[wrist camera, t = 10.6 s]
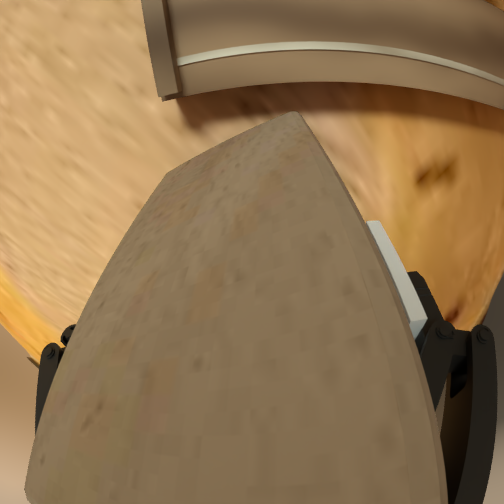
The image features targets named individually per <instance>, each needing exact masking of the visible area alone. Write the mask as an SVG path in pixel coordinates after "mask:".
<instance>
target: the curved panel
mask: <svg viewBox="0 0 504 504" xmlns="http://www.w3.org/2000/svg"><path fill="white" fill-rule="evenodd" d="M141 3H142V10H143V16H144V23H145V29H146V35H147V41H148V46H149V52H150V57H151V63H152V68H153V73H154V78H155V83H156V88H157V92H158V97H162V102H163V101H167V100H171V99H176V98H180V97H184V96H189V95H194V94H199V93H204V92H210V91H216V90H222V89H229V88H236V87H244V86H252V85H262V84H273V83H288V82H322V81H326V82H360V83H374V84H385V85H395V86H403V87H410V88H417V89H423V90H429V91H434V92H439V93H444V94H449V95H453V96H458V97H462V98H466V99H470V100H473V101H477V102H481V103H484V104H487V105H491V106H494V107H497V108H500V109H503V110H504V11H502V10H500V9H499V8H497V7H495V6H494V5H492V4H490V3H488V2H486V1H484V0H141Z"/></svg>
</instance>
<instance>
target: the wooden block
mask: <svg viewBox="0 0 504 504" xmlns="http://www.w3.org/2000/svg"><path fill="white" fill-rule="evenodd" d="M24 490H25V493H26V496H27V500H28V501H29V502H30V503H31V504H448V495H447V483H446V474H445V466H444V459H443V452H442V446H441V440H440V435H439V430H438V425H437V420H436V415H435V411H434V406H433V402H432V398H431V394H430V390H429V387H428V383H427V379H426V376H425V372H424V369H423V365H422V362H421V359H420V356H419V352H418V349H417V346H416V343H415V340H414V337H413V334H412V332H411V329H410V326H409V323H408V320H407V318H406V315H405V312H404V310H403V307H402V304H401V302H400V299H399V297H398V294H397V292H396V289H395V287H394V285H393V282H392V280H391V277H390V275H389V273H388V271H387V268H386V266H385V264H384V262H383V259H382V257H381V255H380V253H379V251H378V248H377V246H376V244H375V242H374V240H373V238H372V236H371V234H370V232H369V230H368V228H367V226H366V224H365V222H364V220H363V218H362V216H361V214H360V212H359V210H358V208H357V206H356V205H355V203H354V201H353V199H352V197H351V195H350V194H349V192H348V190H347V188H346V186H345V185H344V183H343V181H342V179H341V178H340V176H339V174H338V172H337V171H336V169H335V167H334V166H333V164H332V162H331V161H330V159H329V157H328V156H327V154H326V153H325V151H324V149H323V148H322V146H321V145H320V143H319V141H318V140H317V138H316V137H315V135H314V134H313V132H312V131H311V129H310V128H309V126H308V125H307V123H306V122H305V120H304V119H303V117H302V116H301V115H300V114H299V113H298V112H288V113H286V114H283V115H281V116H279V117H276V118H274V119H272V120H269V121H267V122H265V123H263V124H260V125H258V126H256V127H254V128H252V129H249V130H247V131H245V132H243V133H241V134H239V135H237V136H235V137H233V138H231V139H229V140H227V141H225V142H223V143H221V144H219V145H217V146H215V147H213V148H211V149H209V150H207V151H205V152H203V153H202V154H200V155H198V156H196V157H194V158H192V159H191V160H189V161H187V162H185V163H183V164H182V165H180V166H178V167H176V168H175V169H173V170H171V171H170V172H168V173H167V174H166V175H165V177H164V178H163V179H162V181H161V182H160V184H159V185H158V186H157V188H156V189H155V191H154V192H153V193H152V195H151V196H150V198H149V199H148V201H147V202H146V204H145V205H144V206H143V208H142V209H141V211H140V212H139V214H138V215H137V217H136V219H135V220H134V222H133V223H132V225H131V226H130V228H129V229H128V231H127V233H126V234H125V236H124V237H123V239H122V241H121V242H120V244H119V246H118V247H117V249H116V251H115V252H114V254H113V256H112V257H111V259H110V261H109V263H108V264H107V266H106V268H105V270H104V271H103V273H102V275H101V277H100V279H99V281H98V282H97V284H96V286H95V288H94V290H93V292H92V294H91V296H90V298H89V300H88V302H87V304H86V306H85V308H84V310H83V312H82V314H81V316H80V318H79V320H78V322H77V324H76V326H75V328H74V331H73V333H72V335H71V337H70V340H69V342H68V344H67V346H66V349H65V351H64V354H63V356H62V358H61V361H60V363H59V366H58V368H57V371H56V374H55V376H54V379H53V382H52V384H51V387H50V390H49V393H48V396H47V399H46V402H45V405H44V408H43V411H42V414H41V418H40V421H39V424H38V428H37V432H36V435H35V440H34V443H33V447H32V452H31V456H30V461H29V466H28V471H27V476H26V482H25V489H24Z"/></svg>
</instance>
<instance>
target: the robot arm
mask: <svg viewBox="0 0 504 504" xmlns="http://www.w3.org/2000/svg"><path fill="white" fill-rule="evenodd" d="M366 226H367V228H368V230H369V232H370V234H371V236H372V238H373V240H374V242H375V244H376V246H377V248H378V251H379V253H380V255H381V257H382V259H383V262H384V264H385V266H386V268H387V271H388V273H389V275H390V277H391V280H392V282H393V285H394V287H395V289H396V292H397V294H398V297H399V299H400V302H401V304H402V307H403V310H404V312H405V315H406V318H407V320H408V323H409V326H410V329H411V332H412V334H413V337H414V340H415V343H416V346H417V349H418V352H419V356H420V359H421V362H422V365H423V369H424V372H425V376H426V379H427V383H428V387H429V390H430V394H431V398H432V402H433V406H434V411H436V408H437V405H438V403H439V400H440V397H441V394H442V391H443V388H444V384H445V381H446V378H447V381H446V382H447V383H446V394H445V404H444V413H443V421H442V427H441V433H440V440H441V446H442V452H443V459H444V466H445V474H446V483H447V495H448V504H483V500H484V497H485V492H486V488H487V484H488V480H489V475H490V470H491V464H492V458H493V450H494V443H495V434H496V421H497V366H496V354H495V343H494V337H493V333H492V332H491V330H490V329H489V328H488V327H486V326H484V325H476V326H475V327H474V328H473V329H472V331H462V330H456V329H455V328H454V326H453V325H452V324H451V323H449V322H448V321H445V320H444V319H443V317H442V315H441V313H440V311H439V309H438V306H437V304H436V302H435V300H434V298H433V296H432V295H431V292H430V290H429V288H428V286H427V284H426V282H425V280H424V278H423V277H422V276H421V275H420V274H419V273H418V272H417V271H414V272H406V270H405V268H404V266H403V264H402V262H401V260H400V258H399V256H398V254H397V252H396V250H395V248H394V246H393V245H392V243H391V241H390V239H389V237H388V235H387V234H386V232H385V230H384V228H383V227H382V225H381V223H380V221H366ZM75 326H76V324H74V325H71V326H69V327H67V328H66V329H65V330H64V332H63V333H62V335H61V342H62V343H63V344H64V345H65V346H67V344H68V342H69V340H70V337H71V335H72V333H73V331H74V328H75ZM65 349H66V347H64V348H60V346H59V345H58V344H56V343H50V344H48V345H47V346H46V347H45V348H44V349H43V351H42V354H41V359H40V367H39V375H38V385H37V396H36V415H35V416H36V417H35V435H36V432H37V428H38V424H39V421H40V418H41V414H42V411H43V408H44V405H45V402H46V399H47V396H48V393H49V390H50V387H51V384H52V382H53V379H54V376H55V374H56V371H57V368H58V366H59V363H60V361H61V358H62V356H63V354H64V351H65Z"/></svg>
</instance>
